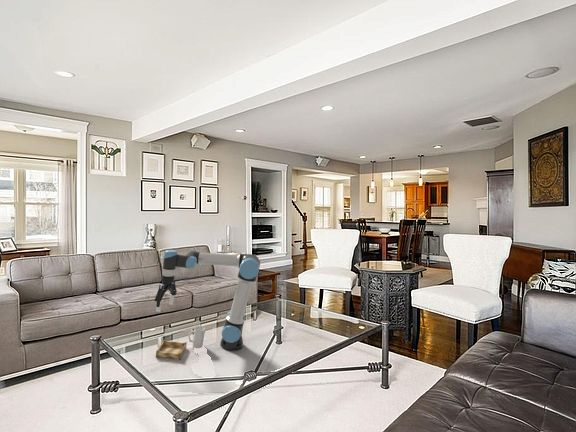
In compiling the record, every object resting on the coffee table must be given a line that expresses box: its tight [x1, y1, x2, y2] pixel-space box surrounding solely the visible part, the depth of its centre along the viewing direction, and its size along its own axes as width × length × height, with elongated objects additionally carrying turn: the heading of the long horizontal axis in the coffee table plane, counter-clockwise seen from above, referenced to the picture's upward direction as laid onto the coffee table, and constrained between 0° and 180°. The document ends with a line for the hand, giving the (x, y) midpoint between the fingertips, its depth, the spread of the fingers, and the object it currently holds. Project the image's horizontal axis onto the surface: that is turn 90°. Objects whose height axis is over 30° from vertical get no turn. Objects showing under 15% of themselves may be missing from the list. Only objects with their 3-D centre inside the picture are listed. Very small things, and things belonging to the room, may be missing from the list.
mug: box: [187, 325, 206, 349], centre depth 224 cm, size 10×7×12 cm, turn 112°
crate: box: [155, 339, 188, 361], centre depth 212 cm, size 14×14×4 cm
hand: (164, 308), depth 216 cm, fingers open, 13 cm apart
